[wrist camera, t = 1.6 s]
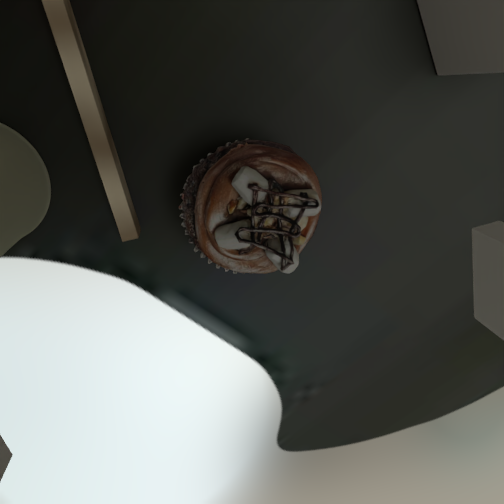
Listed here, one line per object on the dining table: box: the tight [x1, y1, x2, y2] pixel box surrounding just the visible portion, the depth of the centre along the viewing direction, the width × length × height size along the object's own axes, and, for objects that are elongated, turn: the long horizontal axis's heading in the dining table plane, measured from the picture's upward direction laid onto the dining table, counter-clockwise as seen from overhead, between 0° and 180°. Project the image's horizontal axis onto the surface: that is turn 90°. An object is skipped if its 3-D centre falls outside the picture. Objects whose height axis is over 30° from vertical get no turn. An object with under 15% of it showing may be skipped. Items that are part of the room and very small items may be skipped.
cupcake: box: [179, 138, 322, 274], centre depth 29 cm, size 10×10×10 cm
